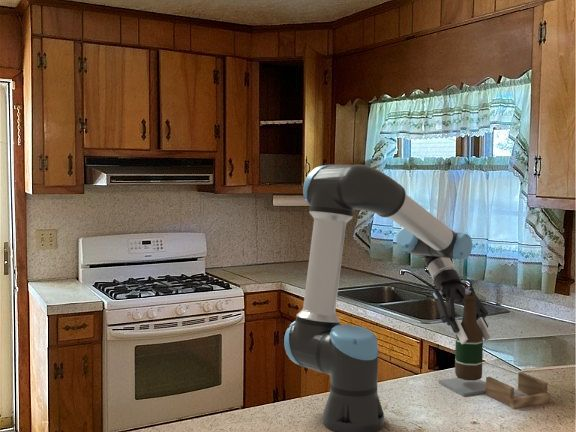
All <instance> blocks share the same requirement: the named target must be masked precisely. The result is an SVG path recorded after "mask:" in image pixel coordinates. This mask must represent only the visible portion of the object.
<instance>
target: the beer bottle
mask: <svg viewBox="0 0 576 432" xmlns="http://www.w3.org/2000/svg"><path fill="white" fill-rule="evenodd" d="M476 296H477V295H476ZM476 296H475V295H473V294H466V295H464V297H463V299H464V306H463V314H462V320H461V321H460V324H461V326H462V328H463V330H464V332H465V334H466V336H467V338H468V340H467V341H466V342H465V343H464V344H461V342H460V340H459V338H458V336H457V334H456V333H455V350H454V352H455V357H454V358H455V359H454V370H455V371H454V374H455V375H456V378H460V379H463V380H478V379H480V380H482V378H483V377H482V376H483V350H484V338H483V335H482V332H481V329H480V327H479V326H478V324H477V319H476V299H477V298H476Z"/></svg>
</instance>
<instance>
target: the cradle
mask: <svg viewBox="0 0 576 432" xmlns="http://www.w3.org/2000/svg"><path fill="white" fill-rule="evenodd" d="M517 375H518V377H517V379H518V380H517V382H518V383H517V390H518V391H519V392H522V393H524V394H526V395H523V396H516V397H515V388H514V387H513V386H511V385H509V384H506V383H504V382H502V381H500V380H498V379H496V378H493V377H491V376H486V377H485V382H486V393H485V395H486V396H488V397H489V398H492V399H494V400H495V401H498V402H499V403H501V404H504V405H506V406H508V407H509V408H512V409H519V408H523V407H524V408H525V407H526V408H527V407H532V406H536V405H545V404H549V403H551V393H550V392H548V382H546V381H544V380H542V379H539V378H536V377H534V376H531V375H529V374H528V373H525V372H522V371H521V372H518V373H517Z"/></svg>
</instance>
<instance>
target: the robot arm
mask: <svg viewBox="0 0 576 432" xmlns="http://www.w3.org/2000/svg"><path fill="white" fill-rule="evenodd" d="M302 193H303V198H305V202H306V204H308V206H309V211H308V212H309V214H310V216H311V217H312V219H313V226H312V227H313V228H312V234H311V242H310V249H309V259H308V266H307V274H306V281H305V290H304V298H303V308H302V309H301V310H300V311H299V312H298V313H296V317H295V320H294V321H293V322H291V323H290V324H289V327H287V329H286V330H285V334H284V340H283V345H284V346H283V347H284V350H285V351H284V352H285V353H286V355H287V356H288V359H289V360H291V362H293V363H294V364H296V365H298V366H300V367H302V368H304V369H309V370H313V371H316V372H318V373H323V374H325V375H328V376H330V378H329V380H330V381H329V383H330V385H329V386H330V390H329V394H328V397H327V399H326V404H325V406H324V410H323V412H322V413H323V414H322V422H323V425H324V426H325V427H326V428H328V429H329V430H331V431H333V432H378V431H380V430H382V429H383V428H384V426H385V413H384V411H383V406H382V404H381V400H380V396H379V394H378V381H379V380H378V376H379V375H378V373H379V372H378V371H379V353H380V352H379V345H378V343H379V342H378V338H377V335H376V334H375V333H374V332H373V331H372V330H370V329H368V328H366V327H364V326H360V325H352V324H340V323H341V320H340V318H339V317H338V316H337V314H336V310H337V309H336V308H337V302H338V294H339V287H340V285H339V284H340V276H341V269H342V268H341V267H342V260H343V252H344V242H345V236H346V228H347V224H348V223H349V222H350V221H352V219H353V217H354V212H355V211H367V212H371V213H374V214H376V215H378V216H379V217H380V218H389V219H390V220H392V222H395V223H396V224H398V226H400V227H401V228H400V229H398V232H397V233H396V237H395V242H396V245H397V246H398V248H399V249H401V250H403V252H406V253H409V254H411V255H413V256H415V257H418V258H420V259H422V260H423V262H424V264H425V266H426V267H427V270H428V272H429V274H430V276H431V279H432V280H433V283H434V285H435V287H436V290H434V292H433V293H432V295H431V297H432V298H433V300H434V302H435V304H436V307H437V310H438V313H439V317H440V319H441V322H442V323H443V324H446V325H447V326H449V327H450V328H451V329H452V332H453V333H454V334H455V335H456V334H457V336H458V338H459V340H460V342H461V344H464V343H465V342H466V341H467V340H468V338H467V336H466V334H465V332H464V330H463V328H462V326H461V321H460V320H459V319H456V309H455V303H459V304H460V305H461V306H463V307H464V298H463V297H464V295H466V294H473V295H475V296H476V298H477V299H476V319H477V324H478V326H479V327H480V329H481V332H482V335H483V341H484V342H488V341H490V339H492V338H493V337H492V334H491V332H490V330H489V329H488V328H489V324H488V323H487V321H486V318H487V316H488V315H489V312H488V310H487V309H486V308H485V306H484V305H483V303H482V301H481V300H480V299H479V297H478V296H477V294H476V292H475V289H474V287H470V288H465V286H463V284H462V279H461V277H460V275H459V273H458V272H457V270H456V268H455V267H456V266H455V265H454V263H453V261H452V260H466V259H468V258H469V256H470V255H471V254H472V250H473V239H472V238H471V236H470V235H469V234H467V233H463V232H455V231H454V230H453V229H451V228H450V227H449V226H448V225H446V224H444V223H443V222H442V221H441V220H439V219H438V218H437V217H436V216H434V215H433V214H431V213H430V212H429V211H428V210H427V209H426V208H424V207H423V206H422V205H420V204H419V203H418V202H416V201H415V200H414V199H412V198H411V196H409V195H407V192H406V189H405V187H403V185H401V184H400V183H398V182H397V181H396V180H395V179H393V178H391V177H390V176H389V175H387V174H385V173H384V172H381V171H380V170H378V169H376V168H374V167H373V166H372V167H371V166H369V165H366V164H365V165H364V164H330V163H329V164H326V165H319V166H317V167H314V168H313V169H312V170H311V171H310V172H309V173H308V174H307V176H306V178H305V180H304V183H303V189H302ZM451 259H452V260H451ZM444 299H445V300H444Z"/></svg>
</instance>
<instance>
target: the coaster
mask: <svg viewBox="0 0 576 432" xmlns="http://www.w3.org/2000/svg"><path fill="white" fill-rule="evenodd" d="M438 384H440V385H442V386H444V387H445V388H447V389H449V390H451V391H453V392H454V393H456V394H458V395H460V396H462V397H468V396H475V395H482V394H486V381H485V380H482V379H478V380H463V379H460V378H457V377H452V378H446V379H439V380H438Z"/></svg>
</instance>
